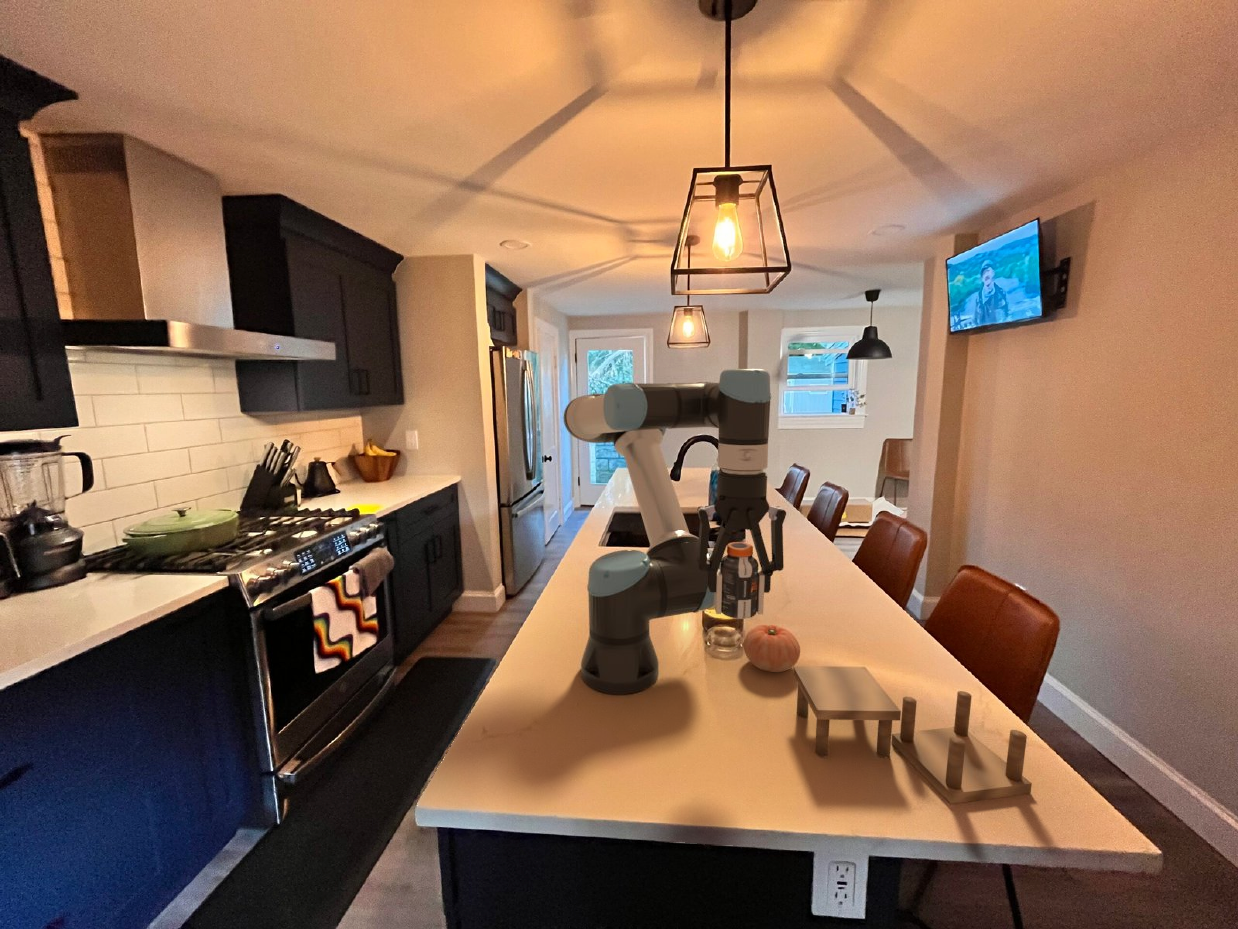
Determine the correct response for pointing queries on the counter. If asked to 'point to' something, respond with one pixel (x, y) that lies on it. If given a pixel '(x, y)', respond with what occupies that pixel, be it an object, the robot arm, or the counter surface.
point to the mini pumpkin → (771, 648)
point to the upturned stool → (961, 757)
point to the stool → (844, 701)
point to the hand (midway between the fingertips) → (738, 610)
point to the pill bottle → (739, 581)
